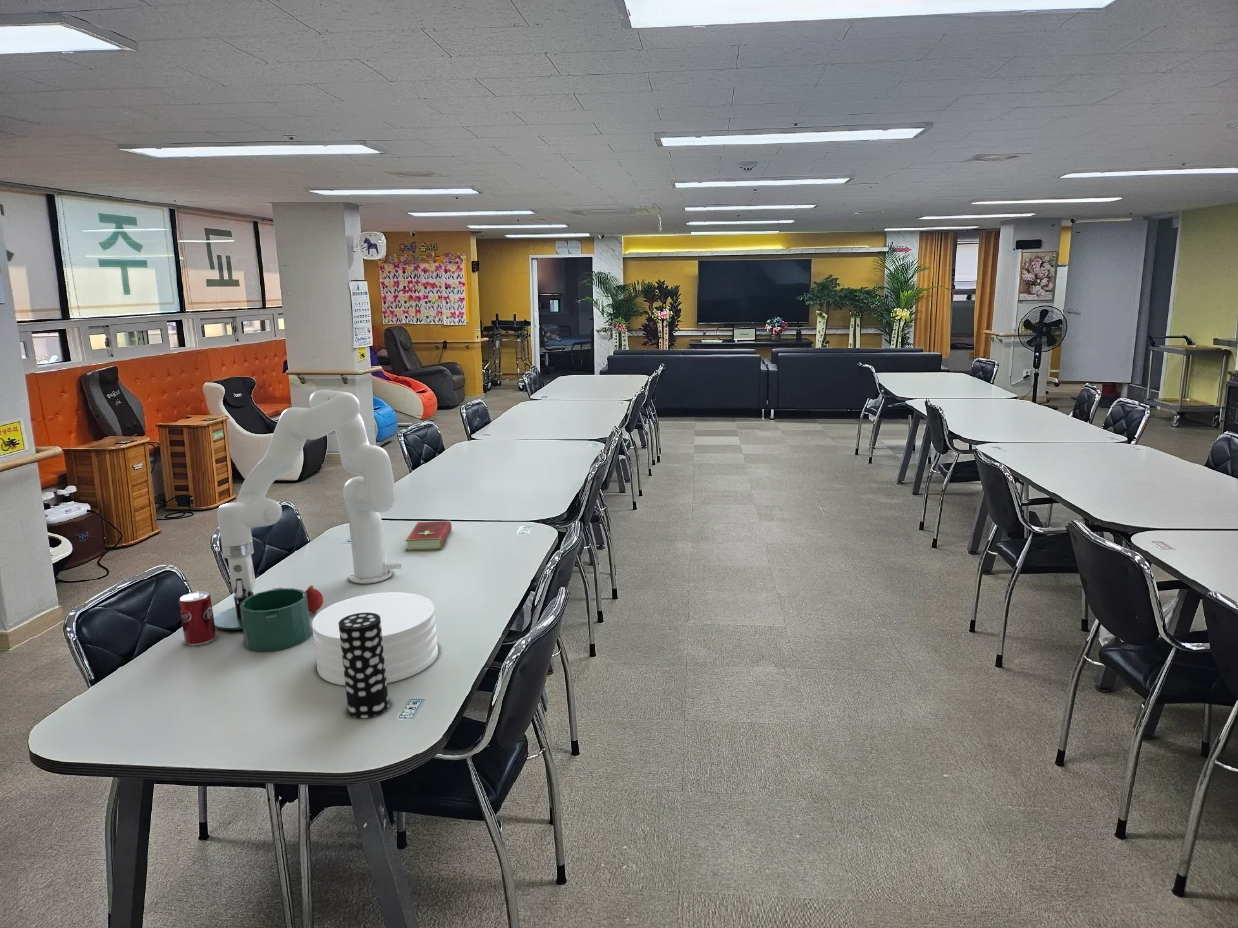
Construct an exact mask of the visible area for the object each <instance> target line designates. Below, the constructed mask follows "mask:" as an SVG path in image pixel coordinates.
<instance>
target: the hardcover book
mask: <svg viewBox="0 0 1238 928" xmlns="http://www.w3.org/2000/svg"><path fill="white" fill-rule="evenodd" d="M451 532H452V521H451V520H435V521H434V520H433V521H417V522H416V524H415V525H414V527H413V528H412V530H411V531H410V532H409V534H408V535H407V537H406V539H405V542H406V544H407V549H406V552H415V551H416V552H418V551H441V550H442V549H443V547H444V545H445V544H446V541H447V539H448V537H449V536H450V534H451Z"/></svg>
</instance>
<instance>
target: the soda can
mask: <svg viewBox="0 0 1238 928" xmlns="http://www.w3.org/2000/svg"><path fill="white" fill-rule="evenodd" d="M178 607H179V612H180V613H179V614H180V620H181V626H182V632H183V640H184V643H186V644H187V645H188V646H201V645H205V644H208V643H211V642H212V641H214V640H215V639H216V637H217V631H216V627H215V623H214V617H215V616H214V610H213V602H212V596H211V594H210V593H209V592H207V591H195V592H189V593H186V594H183V595H182V596H181V597H180V598H179V599H178Z"/></svg>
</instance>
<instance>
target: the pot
mask: <svg viewBox="0 0 1238 928" xmlns="http://www.w3.org/2000/svg"><path fill="white" fill-rule="evenodd" d="M253 594H254V593H253ZM240 612H241V619H242V626H243V629H242V632H243V639H244V644H245V646H246V647H247V648H248V649H249V650H252V651H256V652H275V651H281V650H286V649H288V648H291V647H294V646H297V645H300V644H301V643H303V642H305V641H306V640H308V638H309V637H310V636H311V634H312V629H311V627H312V626H311V619H310V612H309V610H308V601H307V593H305V591H304V590H302V589H299V588H292V587H291V588H288V587H287V588H285V587H278V588H277V587H276V588H272V589H268V590H264V591H260V592H256V593H255V594H254V595H252V596H249V597H247V598H246V599H245V600H243V601H242V602H241V604H240Z"/></svg>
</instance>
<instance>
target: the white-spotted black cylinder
mask: <svg viewBox="0 0 1238 928" xmlns="http://www.w3.org/2000/svg"><path fill="white" fill-rule="evenodd" d="M339 632H340V641H341V650H342V659H343V668H344V677H345V685H344V686H345V695H346V703H347V713H348V715H349V716H351V717H353V718H356V719H369V718H373V717H377V716H379V715H382V714H383V713H384V712H386V711H387V710H388V709H389V706H390V703H389V702H390V701H389V692H388V691H389V690H388V683H387V680H386V670H385V660H384V650H383V639H382V629H381V619H380V616H379V615H378V614H375V613H357V614H352V615H349V616H347V617H344V618H343V619H341V620H340V621H339Z"/></svg>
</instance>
